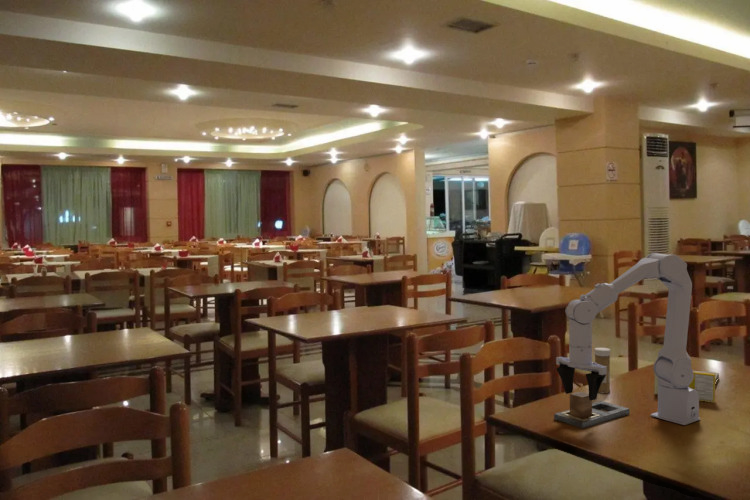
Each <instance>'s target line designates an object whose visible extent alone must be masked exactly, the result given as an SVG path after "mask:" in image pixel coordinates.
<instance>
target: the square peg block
mask: <svg viewBox="0 0 750 500" xmlns="http://www.w3.org/2000/svg"><path fill="white" fill-rule="evenodd" d="M592 403H593V400H592V401H591V400H589V393H588V392H587V393H586V392H584V391H576V392H575V391H574V392H572V393H569V410H570V415H571V416H574V417H577V418H581V419H585V418H588V417H592Z"/></svg>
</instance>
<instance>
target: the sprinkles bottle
mask: <svg viewBox="0 0 750 500" xmlns="http://www.w3.org/2000/svg"><path fill="white" fill-rule="evenodd" d="M610 356H611V349H610V348H607V347H595V348H594V363H597V364H599V365H602V366H606V367H607V374H606V377H605V378H604V380H603V381H602V383H601V385H600V388H599V391H598V394H609V393H610V392H611V389H610V388H611V370H610V368H611V367H610V361H611V359H610V358H611V357H610Z"/></svg>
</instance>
